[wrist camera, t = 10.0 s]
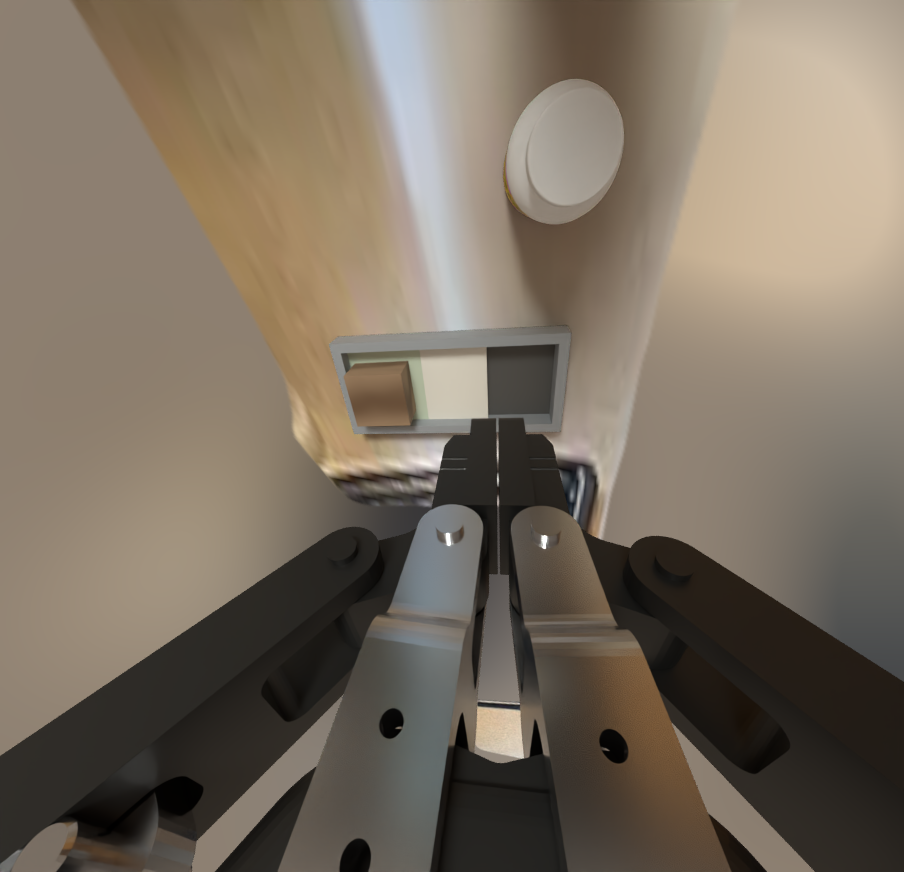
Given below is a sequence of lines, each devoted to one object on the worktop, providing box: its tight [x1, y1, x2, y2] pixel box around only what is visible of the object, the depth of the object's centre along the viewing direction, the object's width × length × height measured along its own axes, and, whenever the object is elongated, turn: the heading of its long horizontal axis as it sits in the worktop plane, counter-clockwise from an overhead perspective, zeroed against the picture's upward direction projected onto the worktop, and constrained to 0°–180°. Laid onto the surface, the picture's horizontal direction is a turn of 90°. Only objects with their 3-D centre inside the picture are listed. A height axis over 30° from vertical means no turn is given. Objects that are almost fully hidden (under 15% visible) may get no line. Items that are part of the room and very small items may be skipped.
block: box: [343, 361, 416, 427], centre depth 38 cm, size 6×6×4 cm
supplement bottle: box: [503, 79, 624, 224], centre depth 22 cm, size 7×7×13 cm
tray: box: [329, 325, 571, 434], centre depth 38 cm, size 11×24×2 cm, turn 95°
